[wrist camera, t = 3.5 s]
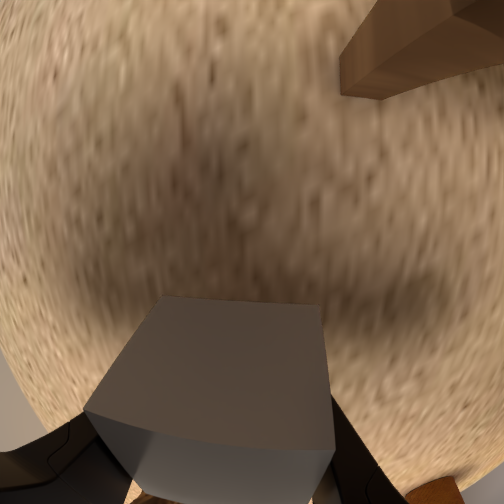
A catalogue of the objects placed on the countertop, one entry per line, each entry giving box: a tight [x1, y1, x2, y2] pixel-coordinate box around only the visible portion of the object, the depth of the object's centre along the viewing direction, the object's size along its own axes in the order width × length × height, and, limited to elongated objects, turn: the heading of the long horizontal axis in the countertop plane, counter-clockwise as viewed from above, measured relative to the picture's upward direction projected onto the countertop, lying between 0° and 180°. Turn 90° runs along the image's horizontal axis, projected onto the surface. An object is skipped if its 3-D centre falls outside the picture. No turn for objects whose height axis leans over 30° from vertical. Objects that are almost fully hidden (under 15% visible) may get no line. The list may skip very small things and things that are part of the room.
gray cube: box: [83, 295, 336, 504], centre depth 8 cm, size 5×5×5 cm
